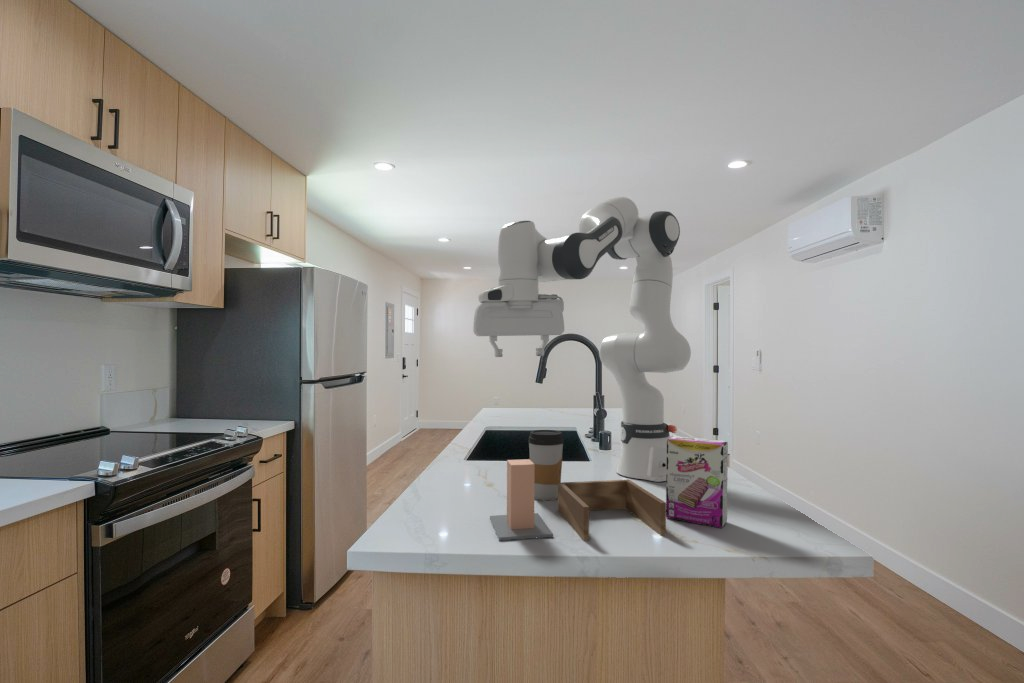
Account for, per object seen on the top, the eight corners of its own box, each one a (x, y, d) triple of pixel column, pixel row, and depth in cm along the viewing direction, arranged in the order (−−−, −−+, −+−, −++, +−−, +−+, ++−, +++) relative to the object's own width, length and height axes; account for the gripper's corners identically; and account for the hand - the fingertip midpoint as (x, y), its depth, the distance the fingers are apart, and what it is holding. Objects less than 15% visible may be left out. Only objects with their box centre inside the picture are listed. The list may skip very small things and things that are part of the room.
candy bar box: (665, 519, 105) (665, 438, 105) (671, 512, 109) (671, 434, 109) (723, 529, 99) (723, 444, 99) (728, 522, 103) (728, 440, 103)
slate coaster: (537, 516, 106) (537, 513, 106) (553, 537, 95) (553, 533, 95) (489, 518, 104) (489, 515, 104) (499, 540, 93) (499, 537, 93)
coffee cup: (561, 503, 115) (562, 436, 115) (524, 500, 117) (525, 434, 117) (565, 493, 123) (565, 430, 123) (530, 490, 125) (531, 428, 125)
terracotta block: (529, 519, 102) (529, 459, 102) (534, 527, 98) (534, 464, 98) (506, 521, 101) (507, 460, 101) (510, 529, 97) (511, 465, 97)
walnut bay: (628, 507, 113) (628, 479, 113) (665, 535, 96) (665, 502, 96) (557, 510, 110) (558, 482, 110) (583, 540, 93) (583, 507, 93)
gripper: (559, 295, 120) (560, 354, 120) (471, 295, 116) (472, 357, 116) (567, 293, 113) (568, 356, 114) (475, 293, 109) (476, 358, 110)
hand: (519, 356), depth 115 cm, fingers open, 8 cm apart
